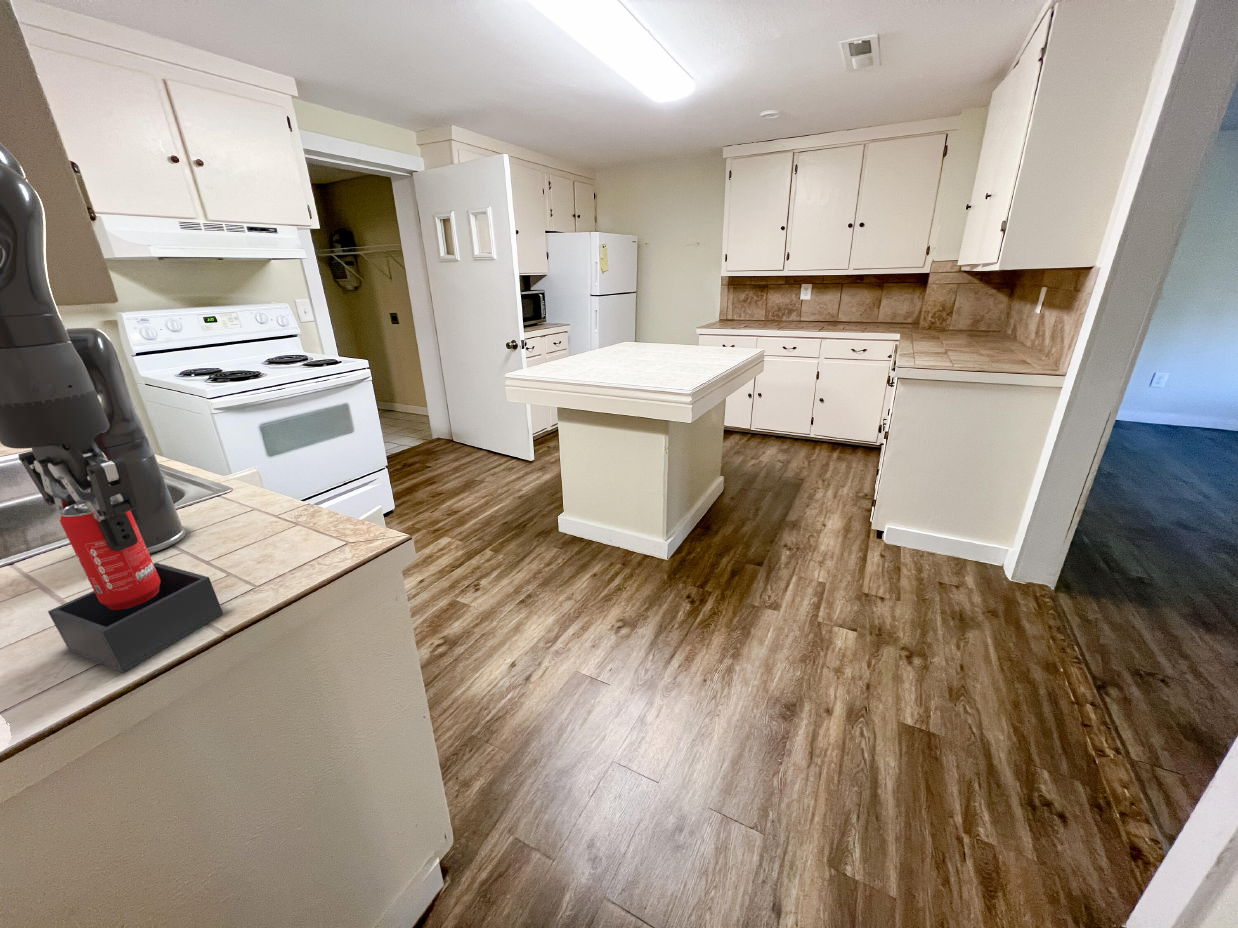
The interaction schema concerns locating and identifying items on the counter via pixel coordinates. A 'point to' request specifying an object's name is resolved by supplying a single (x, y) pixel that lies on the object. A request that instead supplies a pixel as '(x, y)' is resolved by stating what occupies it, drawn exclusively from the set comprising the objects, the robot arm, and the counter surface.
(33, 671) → the counter surface
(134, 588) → the beverage can
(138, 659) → the bin
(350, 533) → the counter surface
